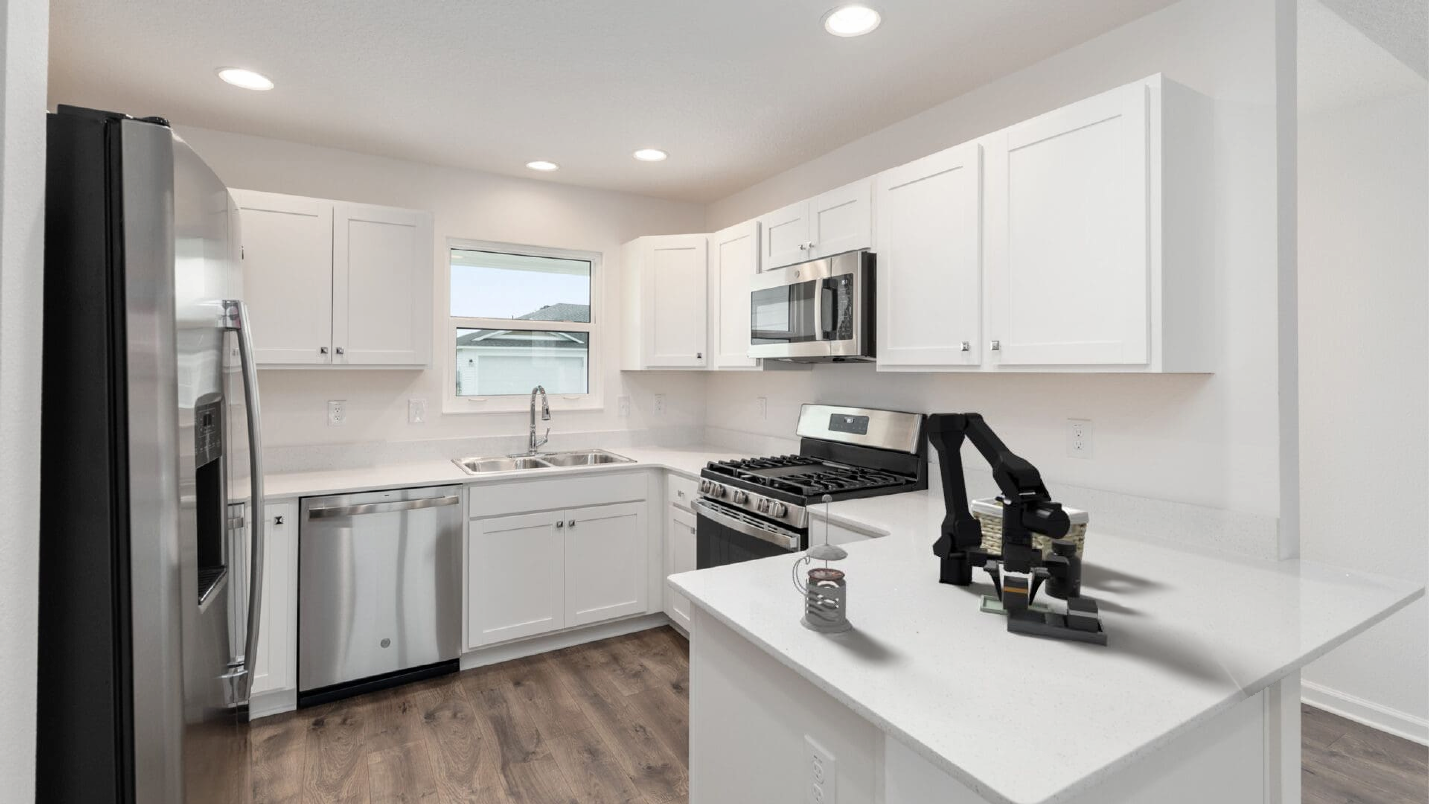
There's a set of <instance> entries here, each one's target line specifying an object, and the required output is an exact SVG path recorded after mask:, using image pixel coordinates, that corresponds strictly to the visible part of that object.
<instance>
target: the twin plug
mask: <svg viewBox="0 0 1429 804" xmlns="http://www.w3.org/2000/svg"><path fill="white" fill-rule="evenodd" d="M1066 614H1067V627H1069V628H1076V629H1083V630H1089V631H1096V632H1097V630H1098V619H1099V607H1098V604H1097V601H1096V600H1095V599H1087V598H1081V597H1080V598H1074V597H1068V600H1066Z"/></svg>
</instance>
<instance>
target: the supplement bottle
mask: <svg viewBox="0 0 1429 804" xmlns="http://www.w3.org/2000/svg"><path fill="white" fill-rule="evenodd" d="M1051 549H1052V552H1050V553H1048V554H1047V555H1054V556H1063V557H1066V559H1067V560H1068V562H1069V565H1070V577H1068V578H1065V577H1057V576H1051V579H1045V580H1044V593H1045V594H1046V595H1047V596H1049V597H1052V598H1055V599H1058V600H1065V601H1068V597H1074V598H1081V590H1082V589H1081V585H1082V584H1081V583H1082V561H1081V559H1080V558H1079V557H1078V556H1077V555H1076V554H1075V553H1076V552H1077V544H1076V543H1075V542H1072V541H1067V540H1052V546H1051Z"/></svg>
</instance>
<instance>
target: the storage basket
mask: <svg viewBox="0 0 1429 804" xmlns="http://www.w3.org/2000/svg"><path fill="white" fill-rule="evenodd" d="M996 497H997V496H996ZM996 497H995V496H994V497H987V498H980V499H979V498H978V499H973V500H972V501H971V505H970V511H971V512H972V513H971V514H972V516H973V517H974V519H979V520H980V522H981V531H982V534H983V537H982V545H981V546H980V548H988V553H991V554H1000V555H1001V546H1002V512H1003V503H1002V502H998V501H996V500H995V498H996ZM1062 510H1063V511H1065V512H1066V513H1067V515H1068V517H1069V520H1070V528H1069V531H1068V533H1067V534H1066V535H1065V536H1064V537H1063V538H1061V539H1058V540H1067V541H1072V542H1075V543H1076V544H1077V552H1076V553H1075V554H1076V555H1077V556H1078V557H1079V558H1080V559H1081V562H1083V556H1084V555H1083V554H1084V548H1085V547H1084V545H1085V538H1086V537H1085V535H1086V532H1087V524H1088V523H1089V522H1090V518H1089V512H1088V511H1086V510H1079V509H1077V508H1076V509H1075V508H1072V507H1067V506H1063V505H1062ZM1052 540H1056V539H1052V538H1049V537H1046V536H1043V535H1039V534H1036V533H1033V548H1036V549H1042V559H1045V560H1046V555H1047V554H1048V553H1050V552H1052V549H1051V546H1052ZM1031 572H1033V568H1031Z"/></svg>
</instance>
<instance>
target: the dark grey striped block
mask: <svg viewBox="0 0 1429 804" xmlns="http://www.w3.org/2000/svg"><path fill="white" fill-rule="evenodd" d="M1002 585H1003V586H1002V598H1003V610H1007V606H1009V607H1016V608H1024V609H1028V601H1029V593H1030V588H1029V587H1030V586H1029V578H1028V577H1021V576H1013V575H1005V574H1004V575H1003V583H1002Z"/></svg>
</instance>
